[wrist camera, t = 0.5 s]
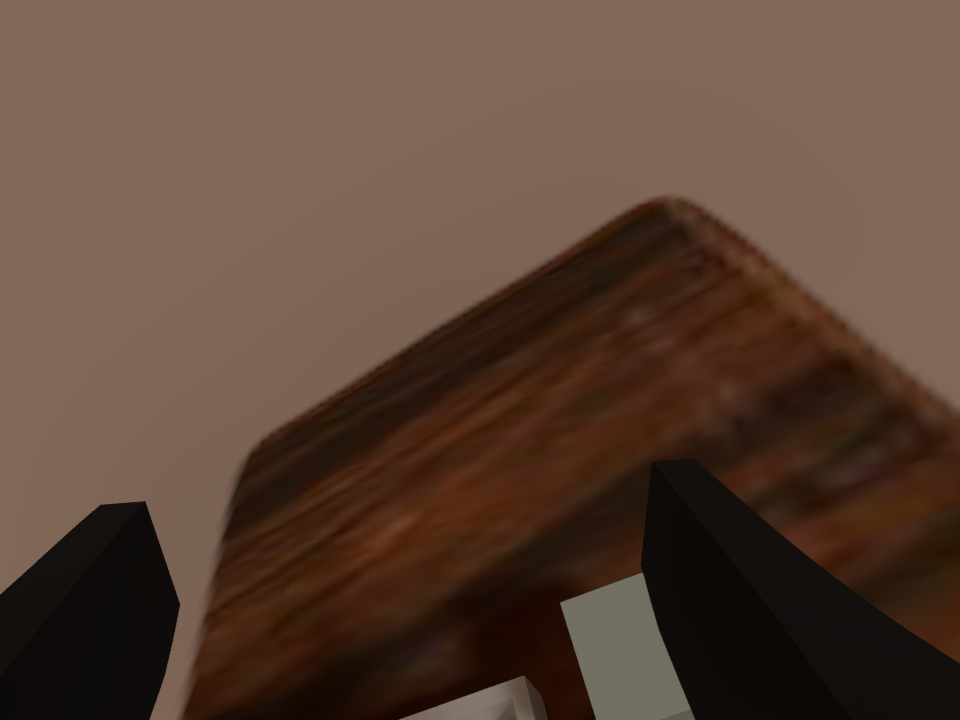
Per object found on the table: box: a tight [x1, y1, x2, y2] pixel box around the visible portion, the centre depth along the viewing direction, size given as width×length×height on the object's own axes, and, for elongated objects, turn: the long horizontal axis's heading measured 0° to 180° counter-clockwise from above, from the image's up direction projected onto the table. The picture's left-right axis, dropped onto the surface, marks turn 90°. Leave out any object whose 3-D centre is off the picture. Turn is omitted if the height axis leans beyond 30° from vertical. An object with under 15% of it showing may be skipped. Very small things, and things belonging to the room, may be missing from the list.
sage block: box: [560, 573, 695, 720], centre depth 23 cm, size 4×4×7 cm
